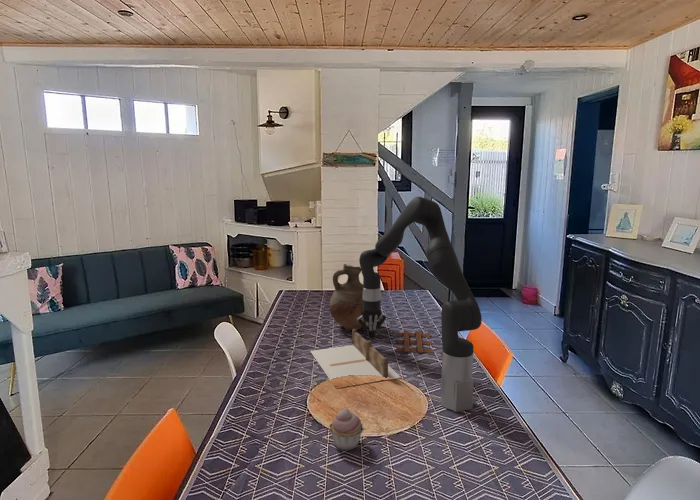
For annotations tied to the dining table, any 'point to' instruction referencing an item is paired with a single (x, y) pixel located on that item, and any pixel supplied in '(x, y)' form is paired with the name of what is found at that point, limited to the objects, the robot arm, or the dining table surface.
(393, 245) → the robot arm
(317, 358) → the card
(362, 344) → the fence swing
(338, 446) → the cupcake
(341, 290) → the jug
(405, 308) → the dining table surface
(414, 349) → the decorative fence
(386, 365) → the fence fixed
